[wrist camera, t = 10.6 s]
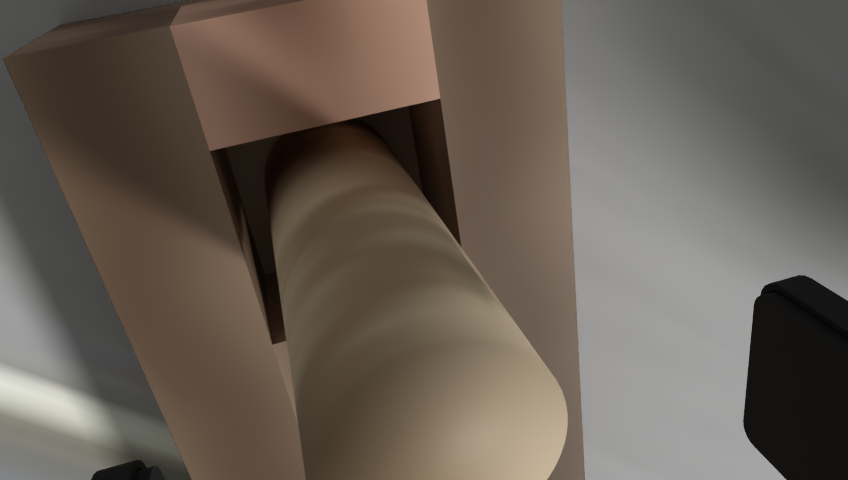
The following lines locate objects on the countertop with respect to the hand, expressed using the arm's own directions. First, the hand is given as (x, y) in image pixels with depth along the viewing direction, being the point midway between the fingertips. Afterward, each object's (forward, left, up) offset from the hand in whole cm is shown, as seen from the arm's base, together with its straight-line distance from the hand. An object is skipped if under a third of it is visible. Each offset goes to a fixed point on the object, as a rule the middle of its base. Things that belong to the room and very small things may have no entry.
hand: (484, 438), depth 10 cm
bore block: (+1, +5, -13) cm, 14 cm away
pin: (+1, 0, -12) cm, 12 cm away
